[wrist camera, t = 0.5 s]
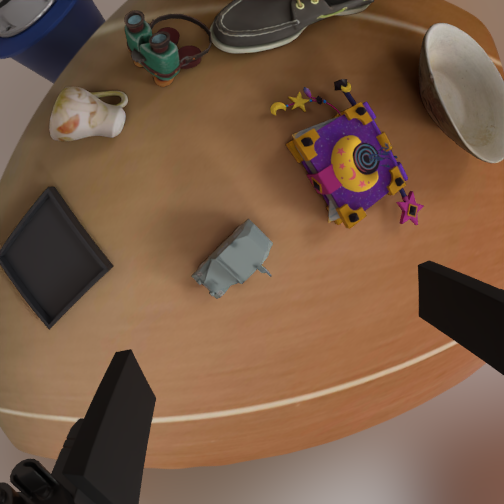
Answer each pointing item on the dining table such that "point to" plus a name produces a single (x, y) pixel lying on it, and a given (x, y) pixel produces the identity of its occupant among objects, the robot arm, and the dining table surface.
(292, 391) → the dining table surface
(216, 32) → the boat shoe
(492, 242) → the dining table surface
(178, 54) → the binoculars
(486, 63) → the bowl
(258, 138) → the dining table surface
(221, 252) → the toy car
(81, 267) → the tray
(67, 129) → the mug
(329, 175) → the purple toy
